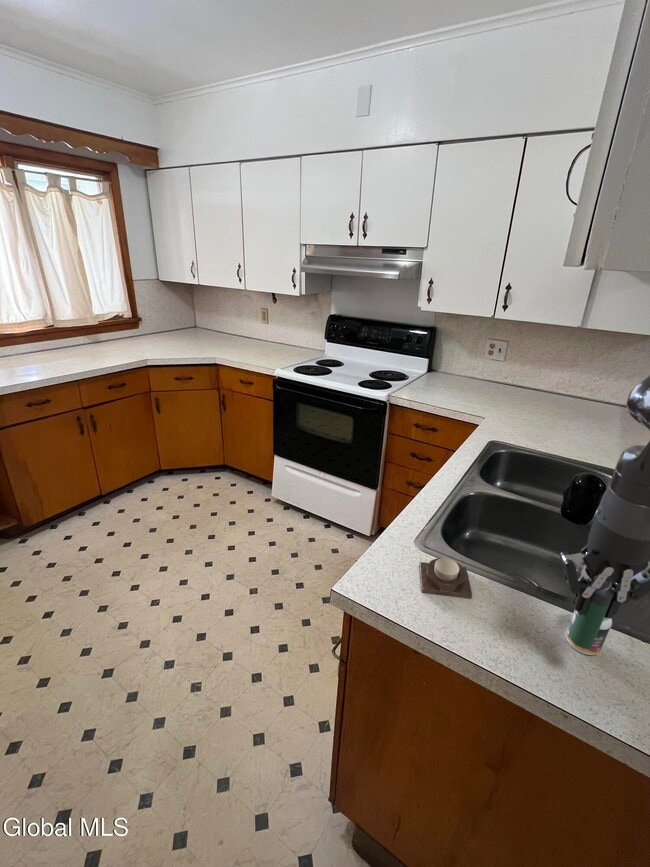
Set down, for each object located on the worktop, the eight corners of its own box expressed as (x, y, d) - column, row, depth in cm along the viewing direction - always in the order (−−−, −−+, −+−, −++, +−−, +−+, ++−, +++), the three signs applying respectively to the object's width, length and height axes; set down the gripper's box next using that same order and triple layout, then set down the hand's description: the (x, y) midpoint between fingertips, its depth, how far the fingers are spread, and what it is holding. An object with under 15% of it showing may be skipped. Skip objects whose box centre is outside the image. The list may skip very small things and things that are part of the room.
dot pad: (456, 565, 92) (457, 559, 91) (459, 582, 87) (461, 576, 87) (432, 563, 92) (433, 556, 92) (434, 579, 88) (436, 573, 87)
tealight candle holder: (465, 571, 94) (467, 560, 93) (471, 599, 87) (473, 588, 85) (419, 565, 95) (421, 555, 94) (421, 593, 88) (423, 582, 87)
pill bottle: (565, 649, 77) (580, 609, 72) (564, 625, 81) (578, 586, 77) (601, 661, 74) (619, 621, 70) (598, 636, 79) (615, 597, 75)
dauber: (587, 632, 69) (608, 581, 64) (595, 650, 66) (618, 598, 61) (566, 630, 69) (585, 579, 65) (574, 647, 66) (594, 595, 62)
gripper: (585, 532, 55) (551, 626, 63) (703, 544, 54) (655, 639, 61) (563, 500, 62) (536, 588, 69) (668, 509, 60) (628, 599, 68)
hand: (592, 611), depth 65 cm, fingers closed on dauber, 3 cm apart
